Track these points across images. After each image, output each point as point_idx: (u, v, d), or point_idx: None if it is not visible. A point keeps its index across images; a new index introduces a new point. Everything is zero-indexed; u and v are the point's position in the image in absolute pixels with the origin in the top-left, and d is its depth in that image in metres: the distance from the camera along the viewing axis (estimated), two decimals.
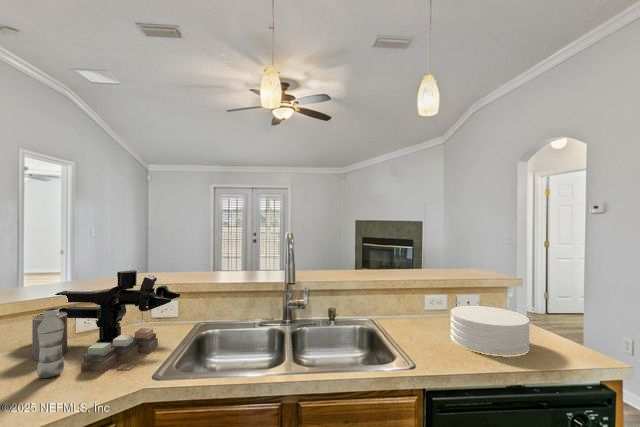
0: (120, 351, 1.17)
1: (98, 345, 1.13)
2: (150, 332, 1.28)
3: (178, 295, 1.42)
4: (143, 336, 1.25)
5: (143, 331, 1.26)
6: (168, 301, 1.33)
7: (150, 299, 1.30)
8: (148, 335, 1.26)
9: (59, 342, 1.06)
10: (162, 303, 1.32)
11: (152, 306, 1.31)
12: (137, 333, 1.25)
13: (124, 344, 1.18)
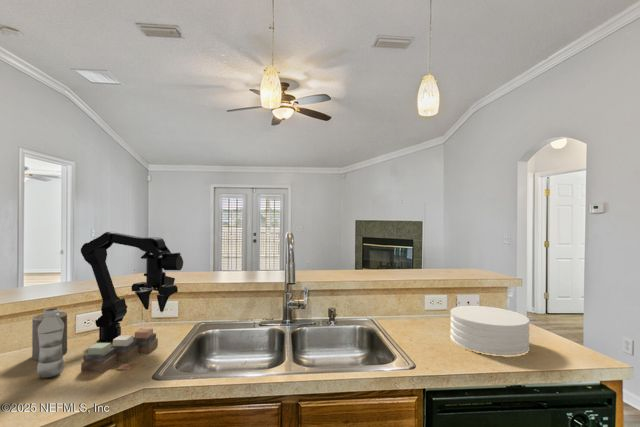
0: (120, 351, 1.17)
1: (98, 345, 1.13)
2: (150, 332, 1.28)
3: (146, 308, 1.37)
4: (143, 336, 1.25)
5: (143, 331, 1.26)
6: (161, 309, 1.34)
7: (169, 294, 1.34)
8: (148, 335, 1.26)
9: (59, 342, 1.06)
10: (161, 305, 1.33)
11: (161, 297, 1.32)
12: (137, 333, 1.25)
13: (124, 344, 1.18)
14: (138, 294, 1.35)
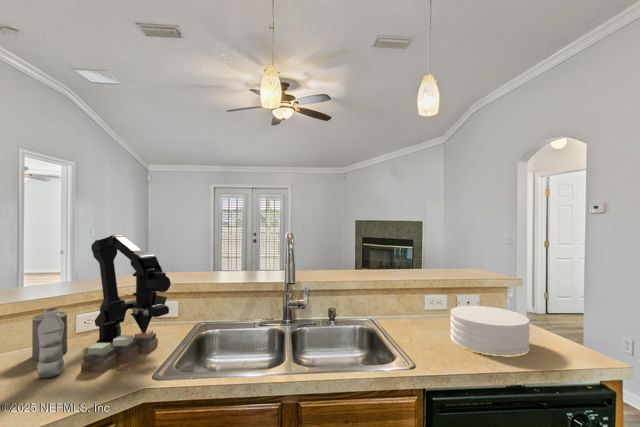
0: (120, 351, 1.17)
1: (98, 345, 1.13)
2: (150, 334, 1.28)
3: None
4: None
5: (143, 333, 1.26)
6: (144, 329, 1.27)
7: None
8: (148, 337, 1.26)
9: (59, 342, 1.06)
10: (144, 325, 1.26)
11: None
12: (137, 335, 1.25)
13: (124, 344, 1.18)
14: (134, 316, 1.26)
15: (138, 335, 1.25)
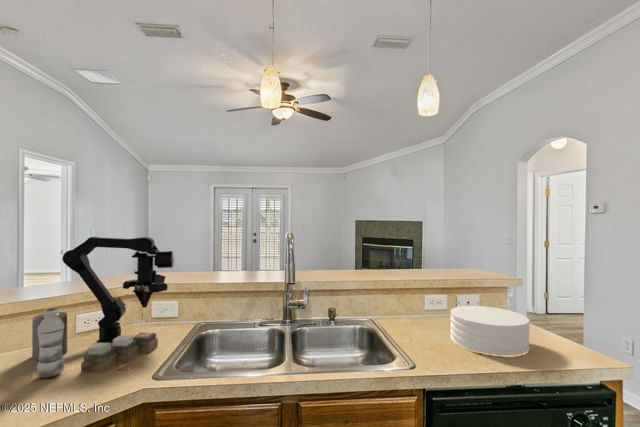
0: (120, 351, 1.17)
1: (98, 345, 1.13)
2: None
3: None
4: None
5: (143, 335, 1.26)
6: (145, 305, 1.40)
7: None
8: None
9: (59, 342, 1.06)
10: (145, 301, 1.39)
11: (145, 293, 1.38)
12: (137, 337, 1.25)
13: (124, 344, 1.18)
14: (136, 292, 1.39)
15: (138, 337, 1.25)
